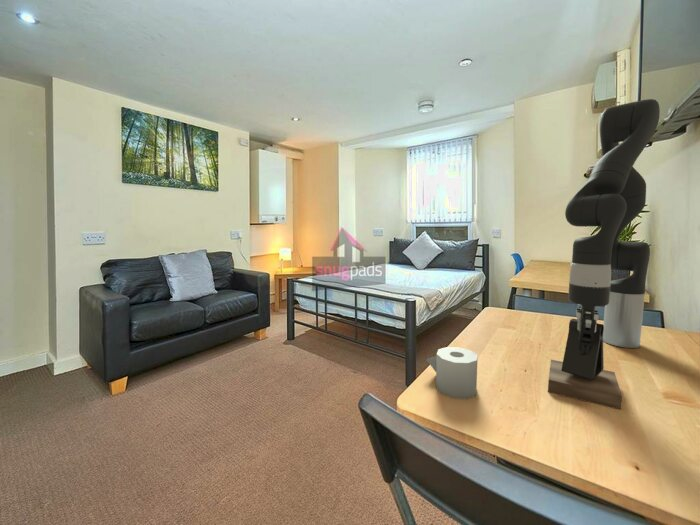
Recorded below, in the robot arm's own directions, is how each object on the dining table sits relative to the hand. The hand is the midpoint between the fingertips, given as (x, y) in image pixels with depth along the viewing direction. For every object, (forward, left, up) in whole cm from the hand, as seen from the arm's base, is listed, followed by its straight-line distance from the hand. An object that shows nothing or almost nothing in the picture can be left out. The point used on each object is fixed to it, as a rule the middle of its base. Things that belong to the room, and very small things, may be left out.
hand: (584, 353), depth 72 cm
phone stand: (0, 0, -4) cm, 4 cm away
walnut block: (0, 0, -9) cm, 9 cm away
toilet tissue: (+16, -26, -9) cm, 32 cm away
